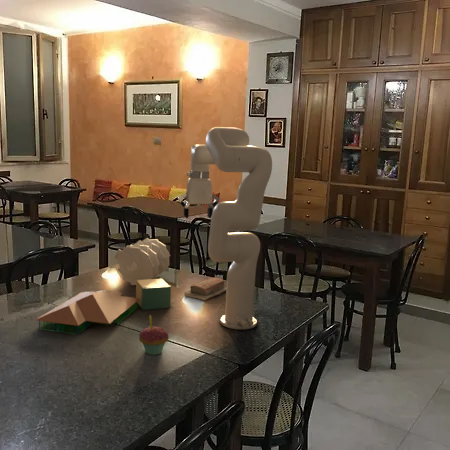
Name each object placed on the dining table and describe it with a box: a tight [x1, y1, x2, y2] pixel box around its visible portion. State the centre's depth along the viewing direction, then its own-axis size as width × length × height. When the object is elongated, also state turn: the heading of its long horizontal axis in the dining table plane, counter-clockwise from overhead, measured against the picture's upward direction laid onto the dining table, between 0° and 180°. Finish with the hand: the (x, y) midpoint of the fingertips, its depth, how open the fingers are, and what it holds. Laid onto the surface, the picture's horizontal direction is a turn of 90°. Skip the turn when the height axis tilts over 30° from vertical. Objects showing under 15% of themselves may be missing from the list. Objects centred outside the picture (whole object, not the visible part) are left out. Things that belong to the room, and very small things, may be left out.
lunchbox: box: [135, 277, 172, 311], centre depth 187 cm, size 11×10×8 cm
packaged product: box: [183, 276, 227, 301], centre depth 203 cm, size 18×5×10 cm
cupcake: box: [138, 315, 170, 356], centre depth 146 cm, size 9×8×12 cm
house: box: [35, 289, 140, 335], centre depth 171 cm, size 23×33×8 cm
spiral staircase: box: [114, 237, 171, 286], centre depth 215 cm, size 18×18×25 cm
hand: (198, 217), depth 205 cm, fingers open, 9 cm apart
